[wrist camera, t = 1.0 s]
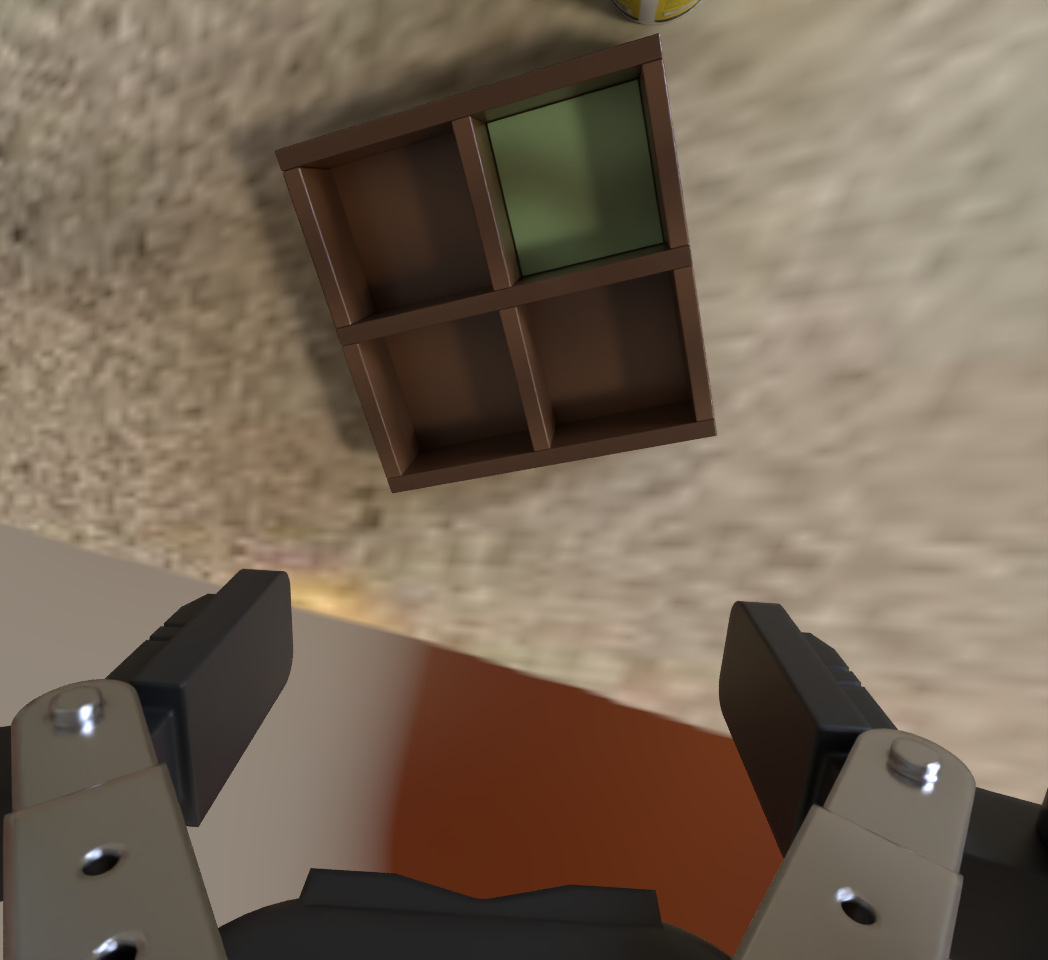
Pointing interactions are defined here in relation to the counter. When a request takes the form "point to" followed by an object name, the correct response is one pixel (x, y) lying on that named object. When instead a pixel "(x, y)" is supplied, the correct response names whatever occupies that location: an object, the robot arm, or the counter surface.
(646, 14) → the supplement bottle
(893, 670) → the counter surface
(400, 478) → the grid
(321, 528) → the counter surface
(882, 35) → the counter surface
